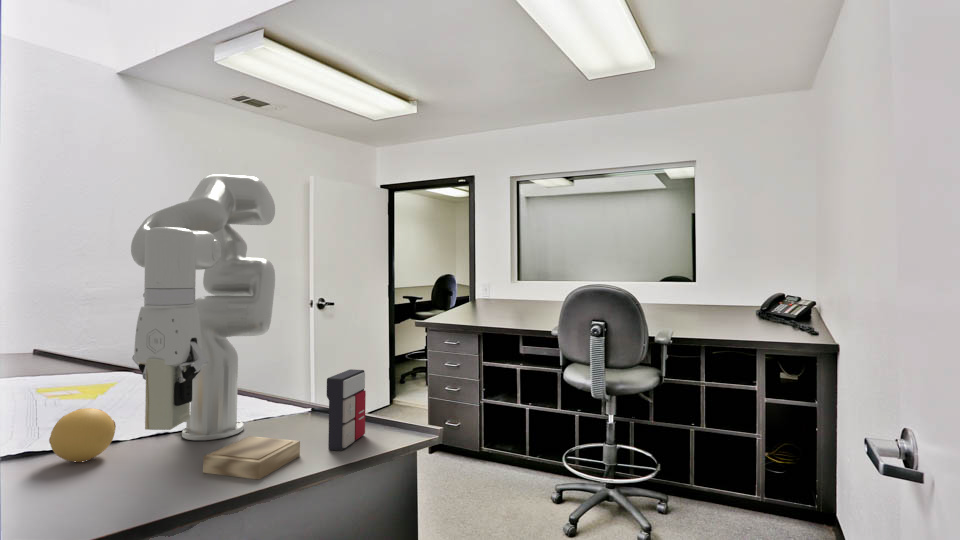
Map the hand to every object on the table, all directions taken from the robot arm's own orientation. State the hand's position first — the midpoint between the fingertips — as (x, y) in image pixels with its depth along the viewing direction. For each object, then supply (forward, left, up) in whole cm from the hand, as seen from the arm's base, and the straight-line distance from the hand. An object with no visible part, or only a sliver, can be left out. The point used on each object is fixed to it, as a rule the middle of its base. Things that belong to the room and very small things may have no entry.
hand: (169, 401), depth 85 cm
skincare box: (0, 0, -4) cm, 4 cm away
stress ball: (-25, +4, -14) cm, 29 cm away
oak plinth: (+8, +11, -14) cm, 20 cm away
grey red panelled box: (+19, +27, -14) cm, 37 cm away
